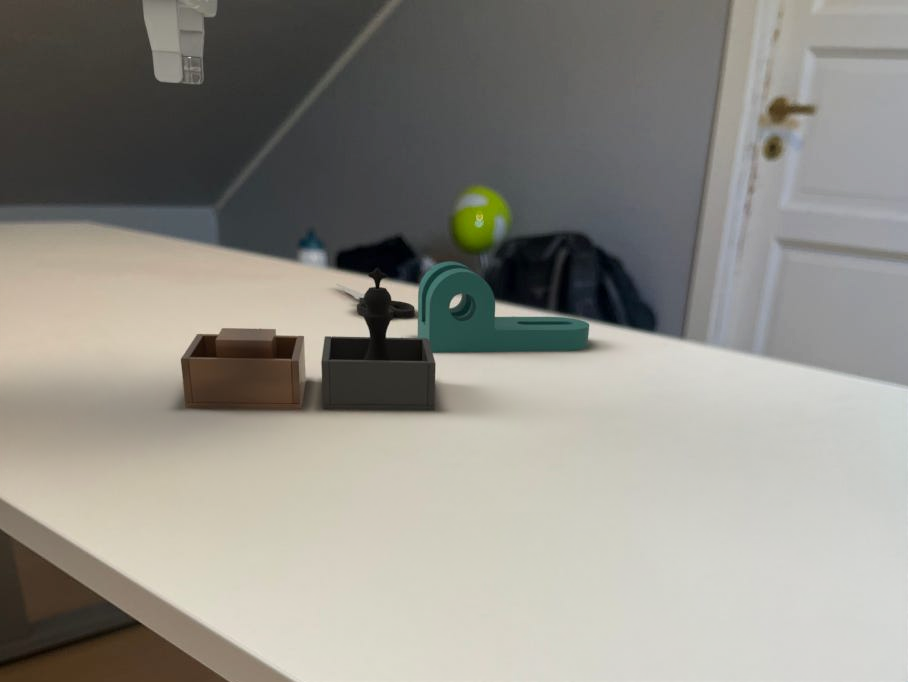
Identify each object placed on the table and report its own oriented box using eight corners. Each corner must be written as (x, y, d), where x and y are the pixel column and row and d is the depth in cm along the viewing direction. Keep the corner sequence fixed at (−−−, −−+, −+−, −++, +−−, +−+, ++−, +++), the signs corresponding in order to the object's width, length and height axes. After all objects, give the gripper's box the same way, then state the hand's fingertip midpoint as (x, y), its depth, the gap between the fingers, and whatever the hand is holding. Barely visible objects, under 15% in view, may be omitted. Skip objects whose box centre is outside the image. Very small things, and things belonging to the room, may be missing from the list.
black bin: (323, 410, 80) (321, 360, 78) (326, 381, 88) (324, 336, 86) (434, 411, 81) (435, 362, 79) (427, 382, 89) (428, 338, 87)
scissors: (309, 289, 127) (371, 320, 112) (309, 282, 126) (371, 312, 111) (357, 287, 130) (423, 317, 115) (357, 280, 129) (424, 309, 114)
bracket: (428, 353, 99) (430, 271, 95) (417, 338, 105) (418, 261, 101) (595, 351, 103) (603, 273, 99) (576, 337, 109) (582, 262, 105)
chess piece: (360, 381, 86) (358, 262, 82) (408, 385, 86) (409, 265, 81) (346, 394, 83) (343, 269, 78) (397, 398, 82) (397, 273, 77)
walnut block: (220, 394, 81) (215, 339, 79) (226, 380, 85) (221, 327, 83) (275, 395, 81) (271, 340, 79) (278, 381, 85) (275, 328, 83)
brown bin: (185, 408, 79) (180, 358, 77) (201, 379, 87) (197, 333, 85) (300, 409, 80) (298, 360, 78) (306, 381, 88) (304, 335, 86)
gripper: (142, -133, 72) (161, 82, 79) (73, -208, 54) (104, 78, 61) (229, -125, 73) (240, 87, 79) (189, -196, 55) (207, 85, 62)
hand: (181, 83), depth 70 cm, fingers open, 8 cm apart
